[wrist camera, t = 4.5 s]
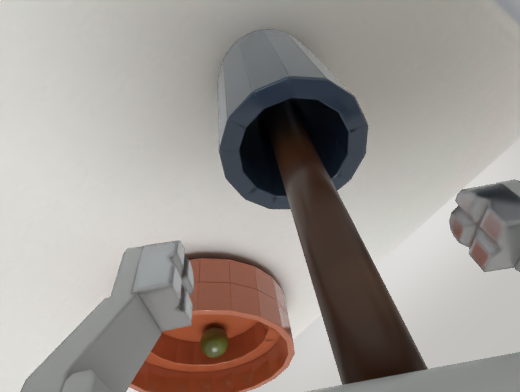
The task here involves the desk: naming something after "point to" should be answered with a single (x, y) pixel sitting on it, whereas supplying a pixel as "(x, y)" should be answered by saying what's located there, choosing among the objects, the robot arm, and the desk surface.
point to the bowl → (236, 327)
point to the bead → (214, 342)
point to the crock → (273, 92)
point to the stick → (339, 262)
